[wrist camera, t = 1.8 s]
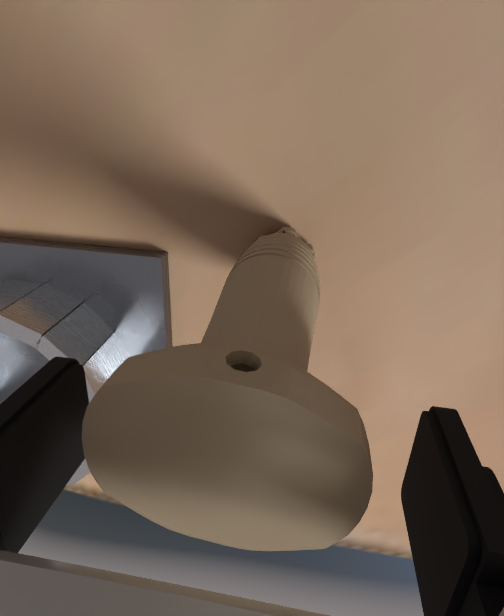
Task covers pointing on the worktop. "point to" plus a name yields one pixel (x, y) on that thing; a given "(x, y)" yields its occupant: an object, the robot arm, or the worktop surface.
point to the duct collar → (79, 310)
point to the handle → (237, 420)
